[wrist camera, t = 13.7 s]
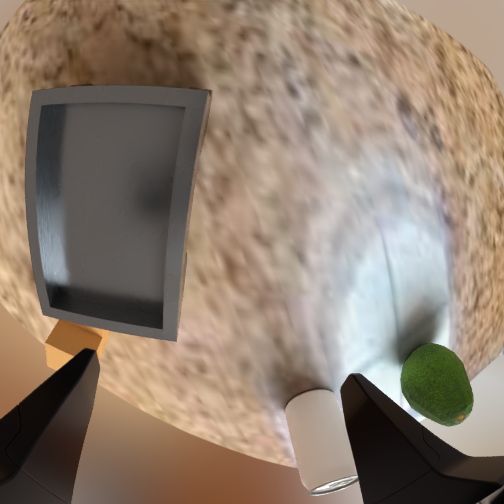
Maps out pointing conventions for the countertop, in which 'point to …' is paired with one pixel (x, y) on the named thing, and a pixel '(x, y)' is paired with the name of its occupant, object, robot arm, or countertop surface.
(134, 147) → the tray
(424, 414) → the avocado
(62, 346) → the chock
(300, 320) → the countertop surface
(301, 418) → the can
